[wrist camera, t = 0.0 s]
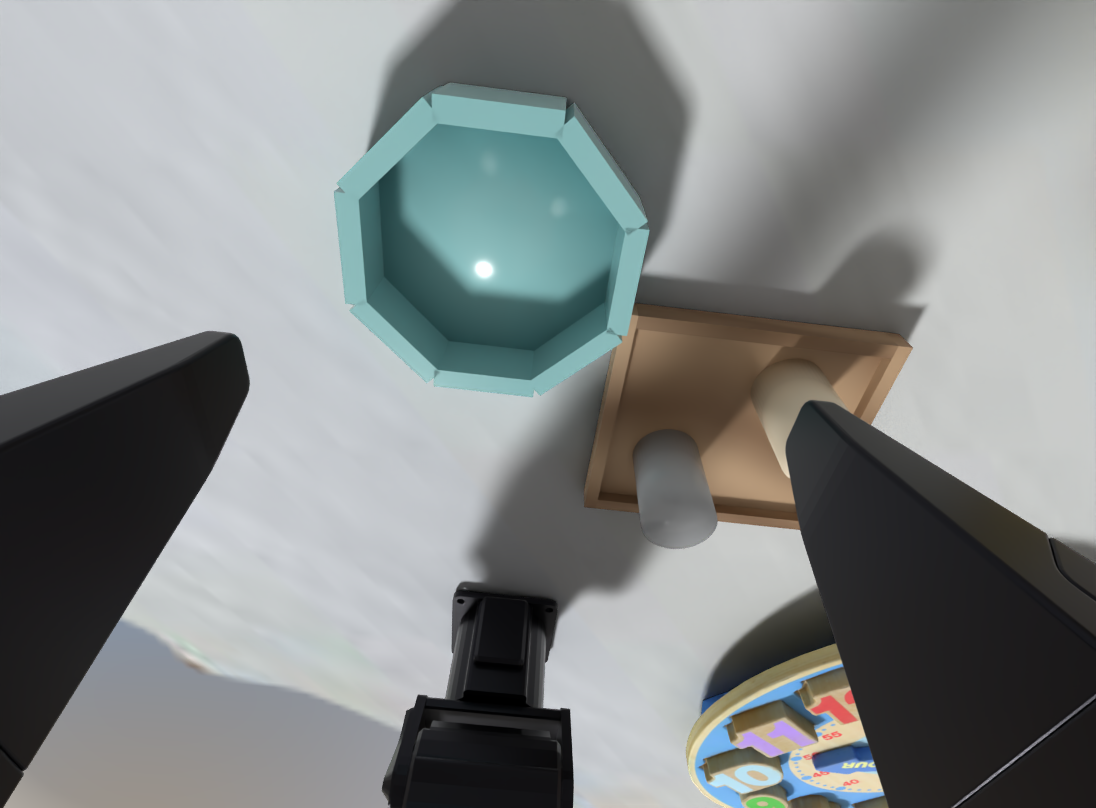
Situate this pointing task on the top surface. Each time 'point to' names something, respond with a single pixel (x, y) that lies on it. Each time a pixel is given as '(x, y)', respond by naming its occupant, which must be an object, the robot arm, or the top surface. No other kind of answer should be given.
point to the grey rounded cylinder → (672, 490)
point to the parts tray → (723, 401)
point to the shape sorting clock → (786, 741)
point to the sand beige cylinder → (788, 399)
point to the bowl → (491, 240)
